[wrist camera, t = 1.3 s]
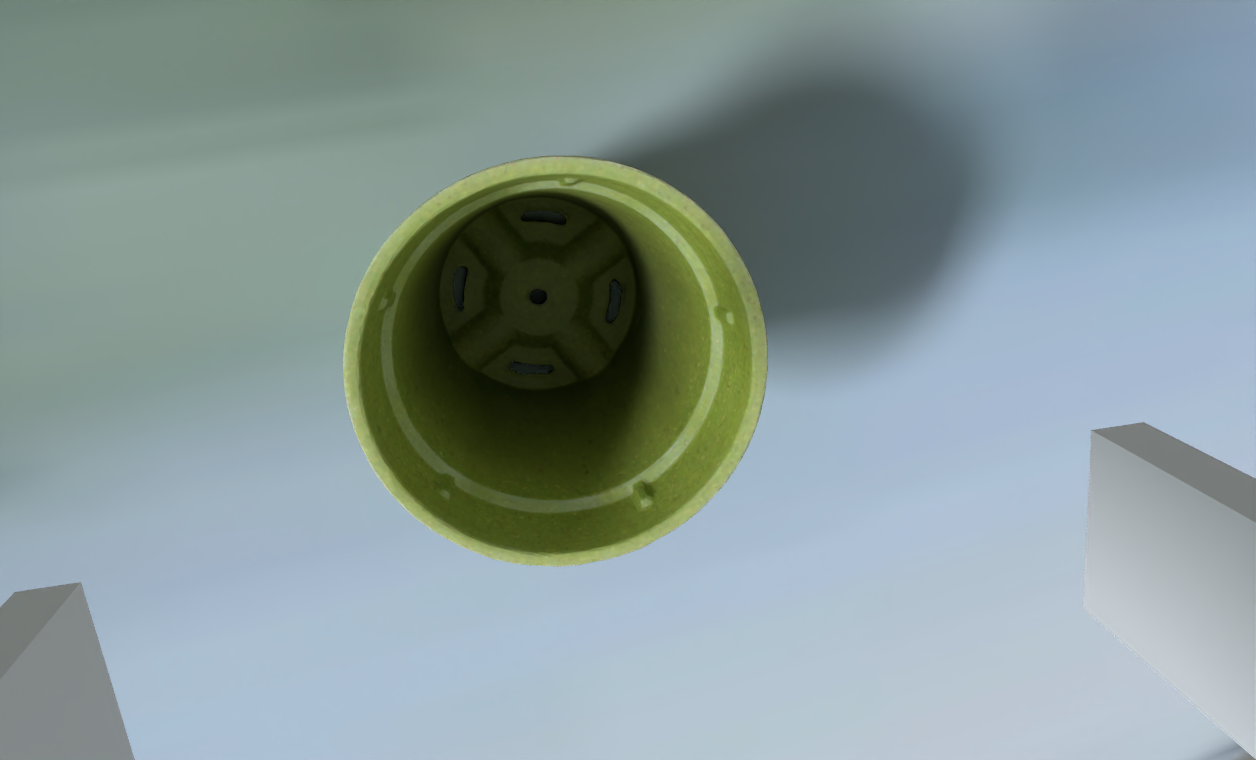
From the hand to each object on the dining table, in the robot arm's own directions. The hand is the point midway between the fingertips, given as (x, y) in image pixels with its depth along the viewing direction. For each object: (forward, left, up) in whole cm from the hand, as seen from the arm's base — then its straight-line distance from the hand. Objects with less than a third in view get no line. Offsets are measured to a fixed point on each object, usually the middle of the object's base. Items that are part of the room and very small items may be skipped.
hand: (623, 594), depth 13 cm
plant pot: (0, 0, -18) cm, 18 cm away
